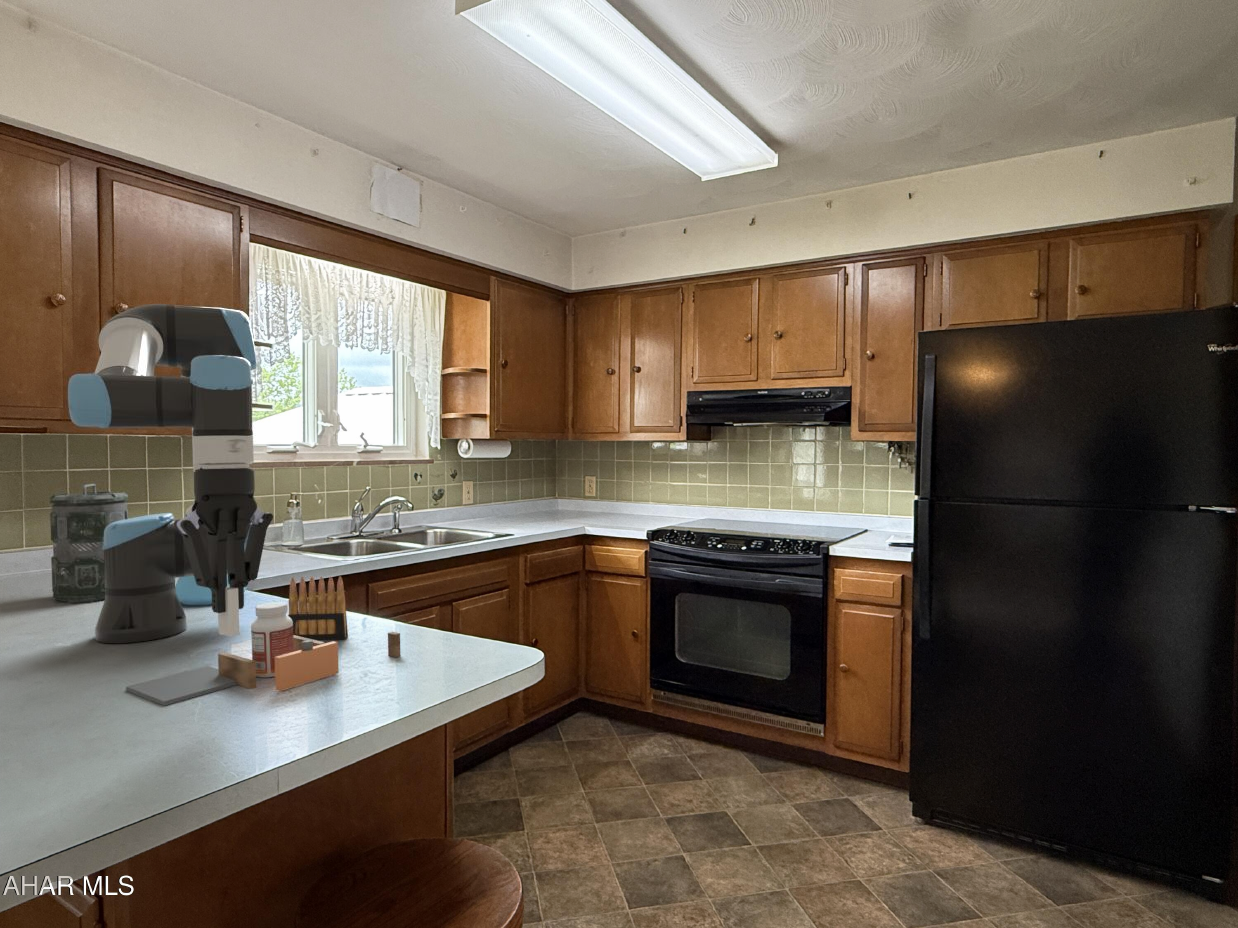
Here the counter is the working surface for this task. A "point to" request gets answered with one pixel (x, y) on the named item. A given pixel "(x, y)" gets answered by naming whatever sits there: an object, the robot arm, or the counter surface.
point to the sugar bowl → (193, 592)
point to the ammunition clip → (318, 611)
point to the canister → (82, 542)
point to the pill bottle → (271, 637)
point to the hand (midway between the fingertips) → (229, 633)
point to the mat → (182, 685)
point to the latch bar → (306, 665)
